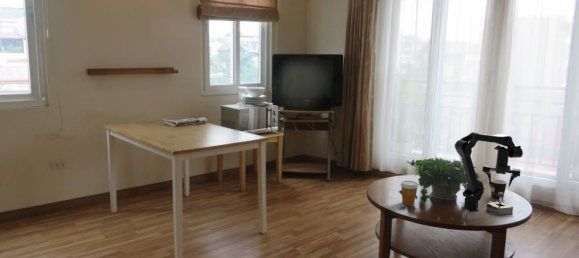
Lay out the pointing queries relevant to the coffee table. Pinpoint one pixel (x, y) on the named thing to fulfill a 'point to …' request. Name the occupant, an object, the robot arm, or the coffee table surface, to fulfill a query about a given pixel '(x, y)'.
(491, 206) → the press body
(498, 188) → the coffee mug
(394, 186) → the coffee table surface
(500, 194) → the plunger
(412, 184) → the beer cup
